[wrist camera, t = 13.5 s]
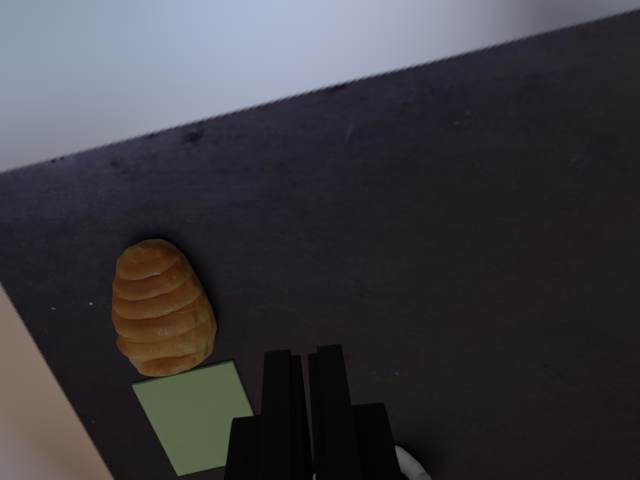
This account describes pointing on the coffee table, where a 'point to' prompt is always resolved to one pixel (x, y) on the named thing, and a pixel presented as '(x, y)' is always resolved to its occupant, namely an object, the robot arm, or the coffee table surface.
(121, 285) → the pastry
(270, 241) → the coffee table surface
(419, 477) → the grey lumpy elongated piece
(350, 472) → the robot arm
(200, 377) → the cloth
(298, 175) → the coffee table surface
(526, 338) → the coffee table surface
